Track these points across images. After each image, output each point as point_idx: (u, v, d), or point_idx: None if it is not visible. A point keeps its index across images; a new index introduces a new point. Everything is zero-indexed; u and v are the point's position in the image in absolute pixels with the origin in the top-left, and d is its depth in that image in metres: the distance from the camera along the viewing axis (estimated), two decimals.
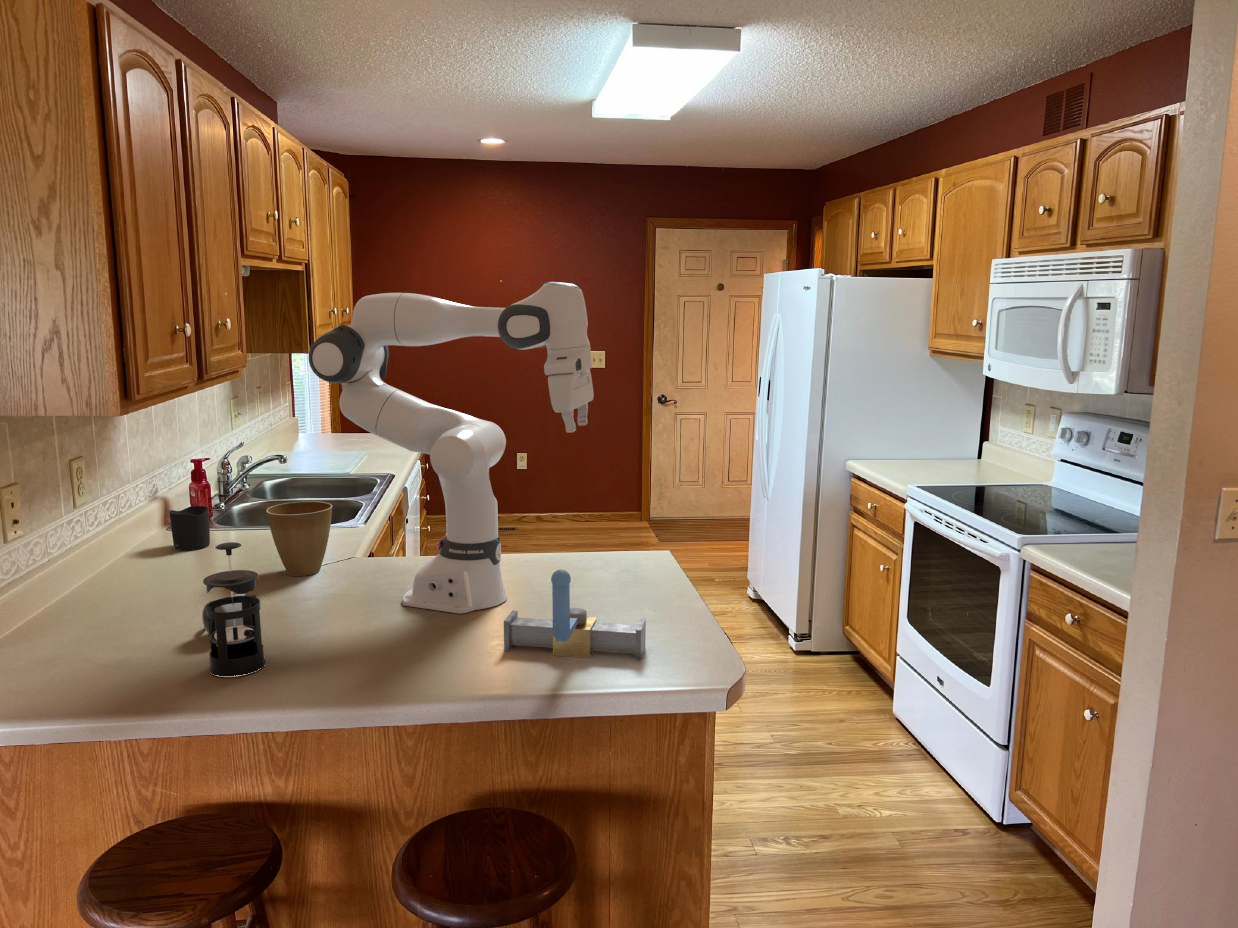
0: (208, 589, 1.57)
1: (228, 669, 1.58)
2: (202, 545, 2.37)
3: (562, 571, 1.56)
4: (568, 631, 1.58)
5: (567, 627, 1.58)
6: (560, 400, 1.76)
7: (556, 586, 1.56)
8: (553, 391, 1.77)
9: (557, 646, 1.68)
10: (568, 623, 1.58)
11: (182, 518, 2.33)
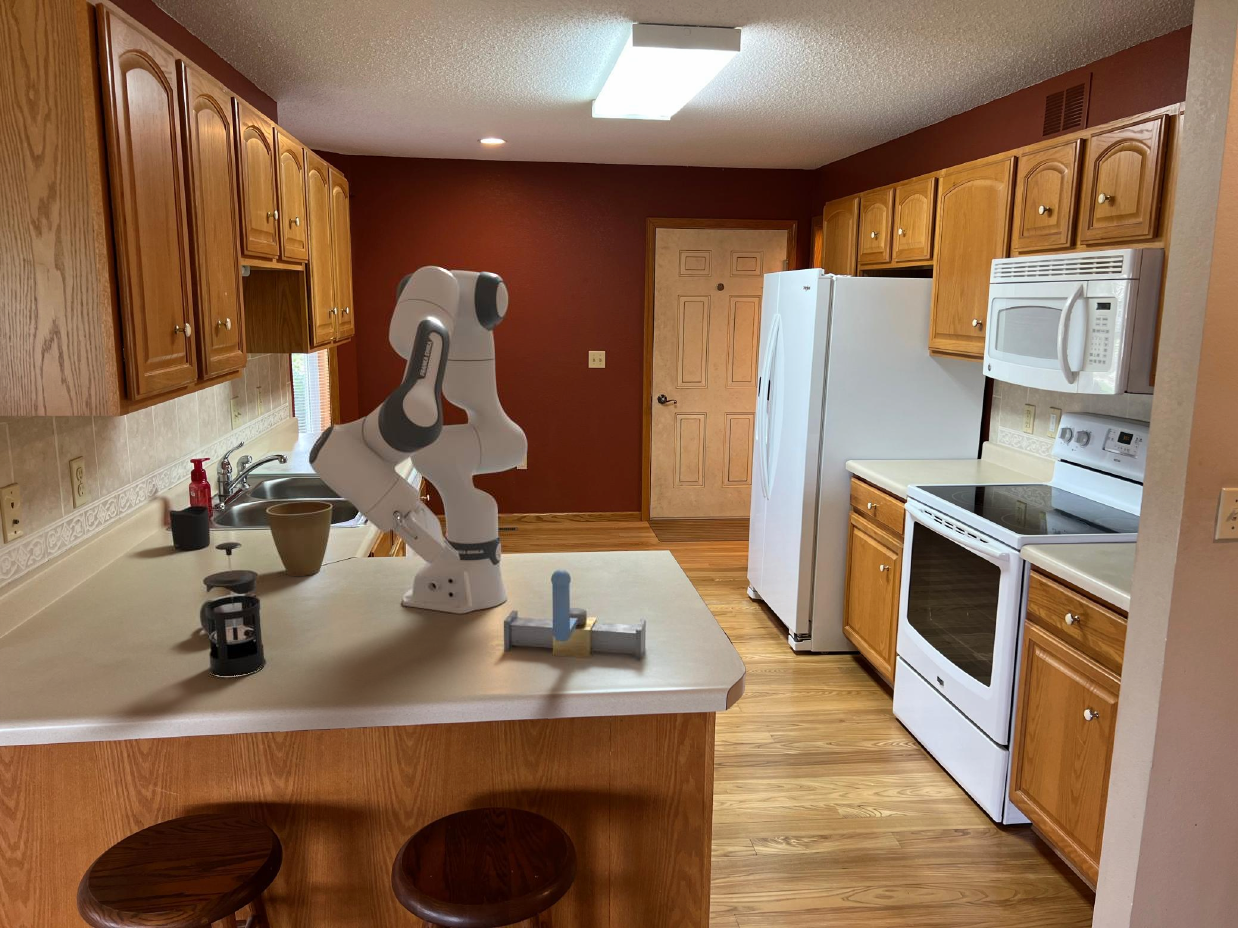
0: (208, 589, 1.57)
1: (228, 669, 1.58)
2: (202, 545, 2.37)
3: (562, 571, 1.56)
4: (568, 631, 1.58)
5: (567, 627, 1.58)
6: None
7: (556, 586, 1.56)
8: None
9: (557, 646, 1.68)
10: (568, 623, 1.58)
11: (182, 518, 2.33)
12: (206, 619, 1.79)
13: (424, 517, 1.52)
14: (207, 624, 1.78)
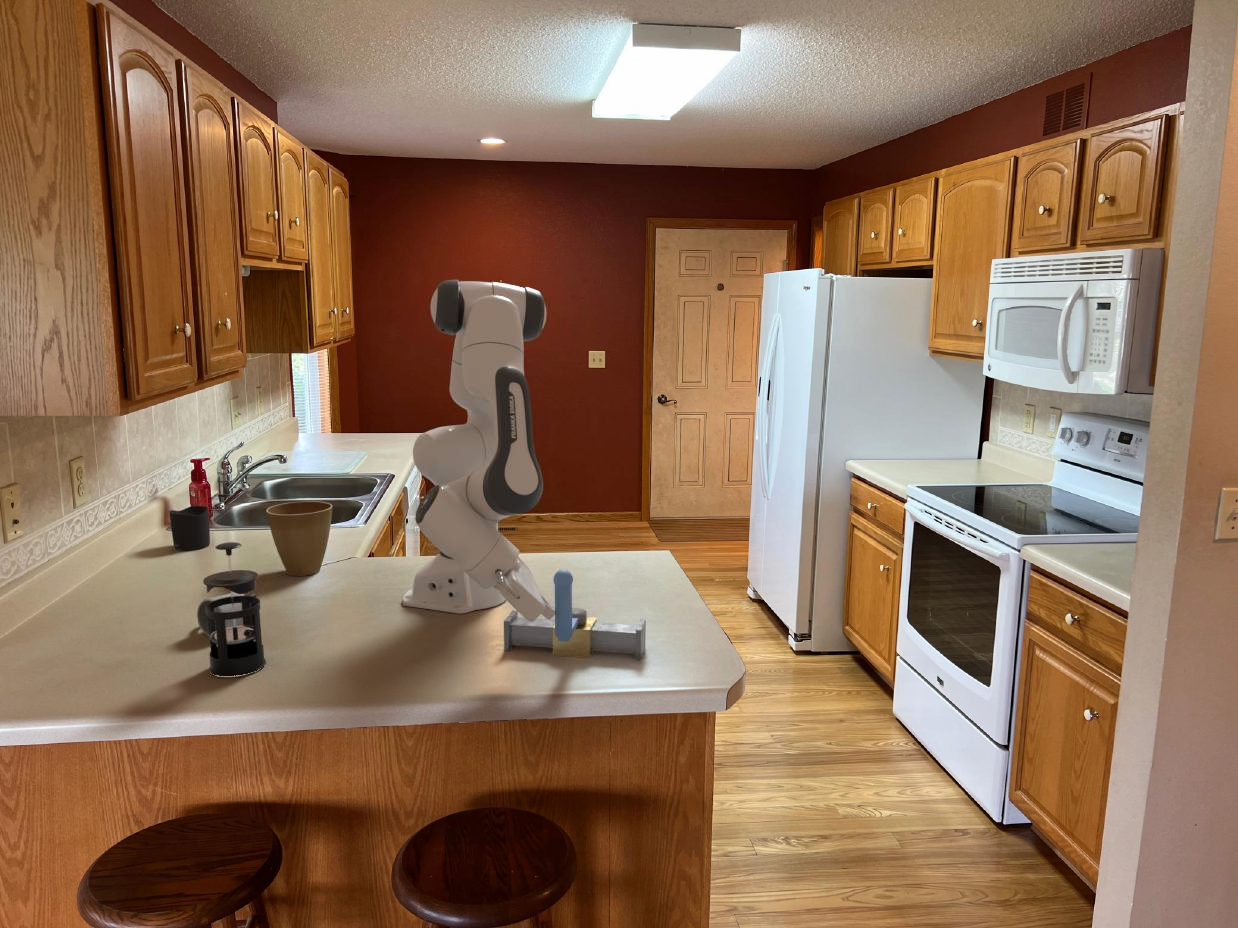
0: (208, 589, 1.57)
1: (228, 669, 1.58)
2: (202, 545, 2.37)
3: (564, 571, 1.56)
4: (570, 631, 1.58)
5: (569, 627, 1.58)
6: None
7: (559, 586, 1.56)
8: None
9: (557, 646, 1.68)
10: (570, 623, 1.58)
11: (182, 518, 2.33)
12: (203, 618, 1.79)
13: (521, 572, 1.57)
14: (204, 623, 1.79)
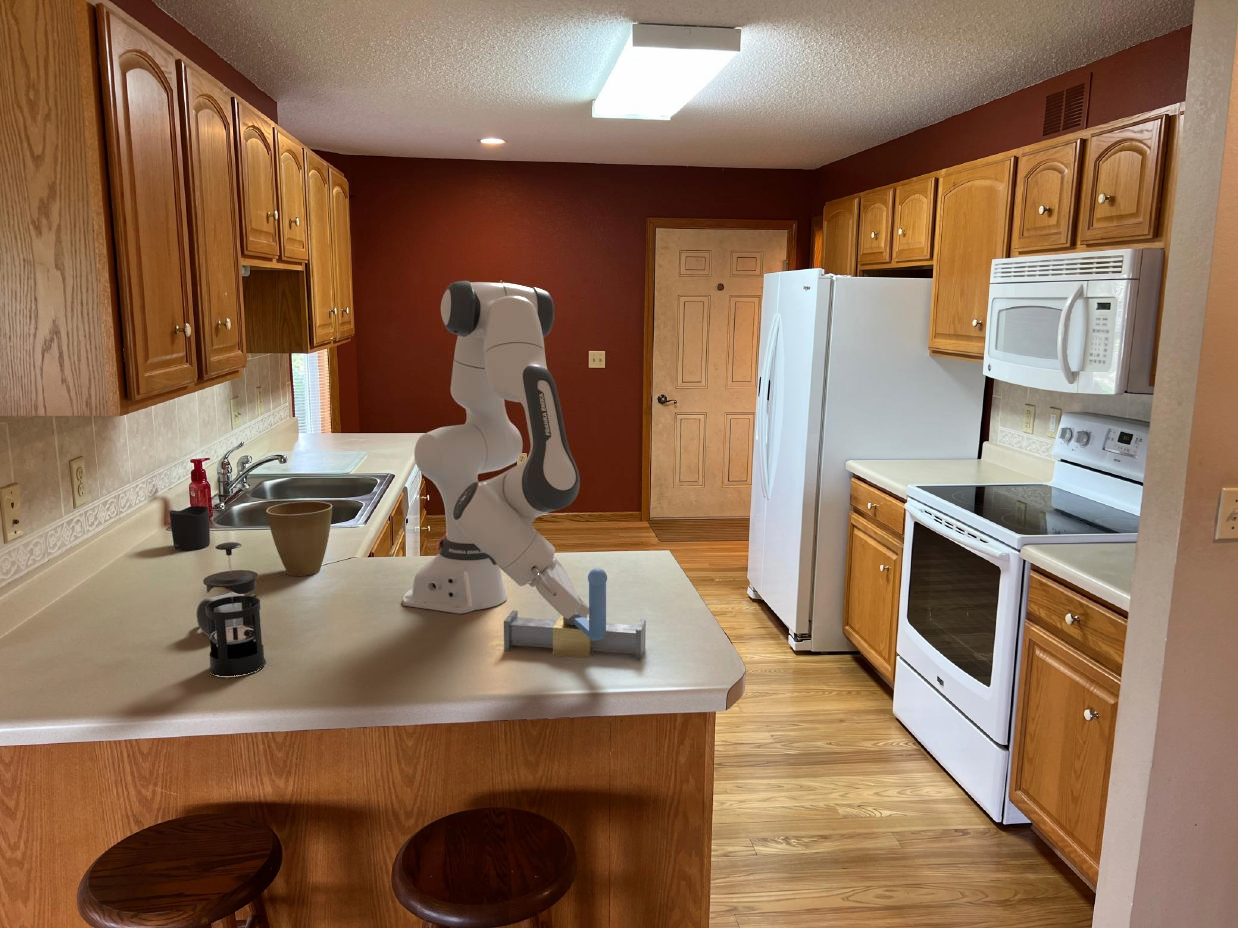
0: (208, 589, 1.57)
1: (228, 669, 1.58)
2: (202, 545, 2.37)
3: (600, 569, 1.57)
4: (605, 628, 1.60)
5: (605, 624, 1.59)
6: None
7: (598, 585, 1.57)
8: None
9: (557, 646, 1.68)
10: (605, 620, 1.59)
11: (182, 518, 2.33)
12: (203, 618, 1.79)
13: (556, 570, 1.58)
14: (204, 623, 1.79)
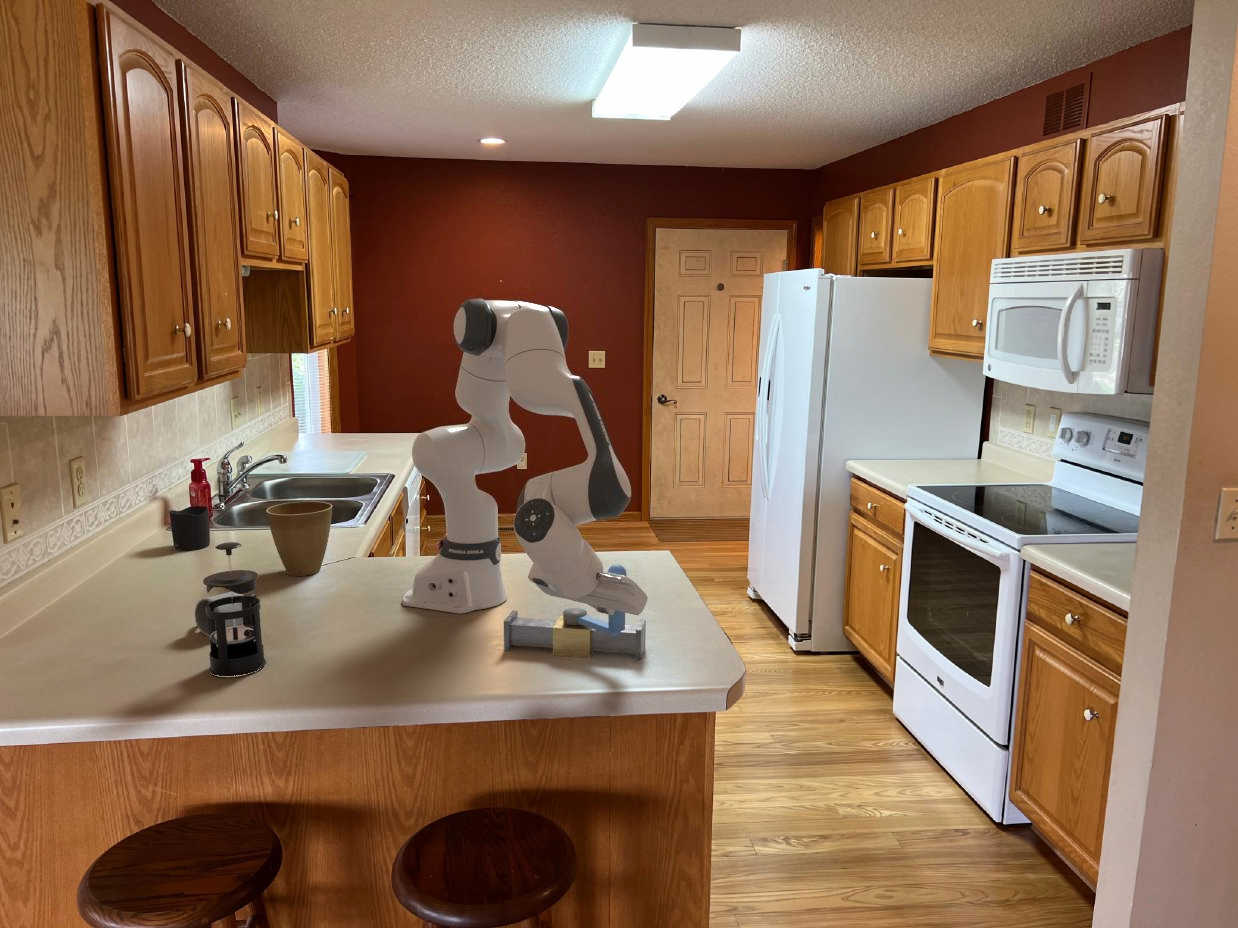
0: (208, 589, 1.57)
1: (228, 669, 1.58)
2: (202, 545, 2.37)
3: (620, 565, 1.60)
4: None
5: None
6: None
7: None
8: None
9: (557, 646, 1.68)
10: None
11: (182, 518, 2.33)
12: (201, 618, 1.79)
13: None
14: (202, 622, 1.79)
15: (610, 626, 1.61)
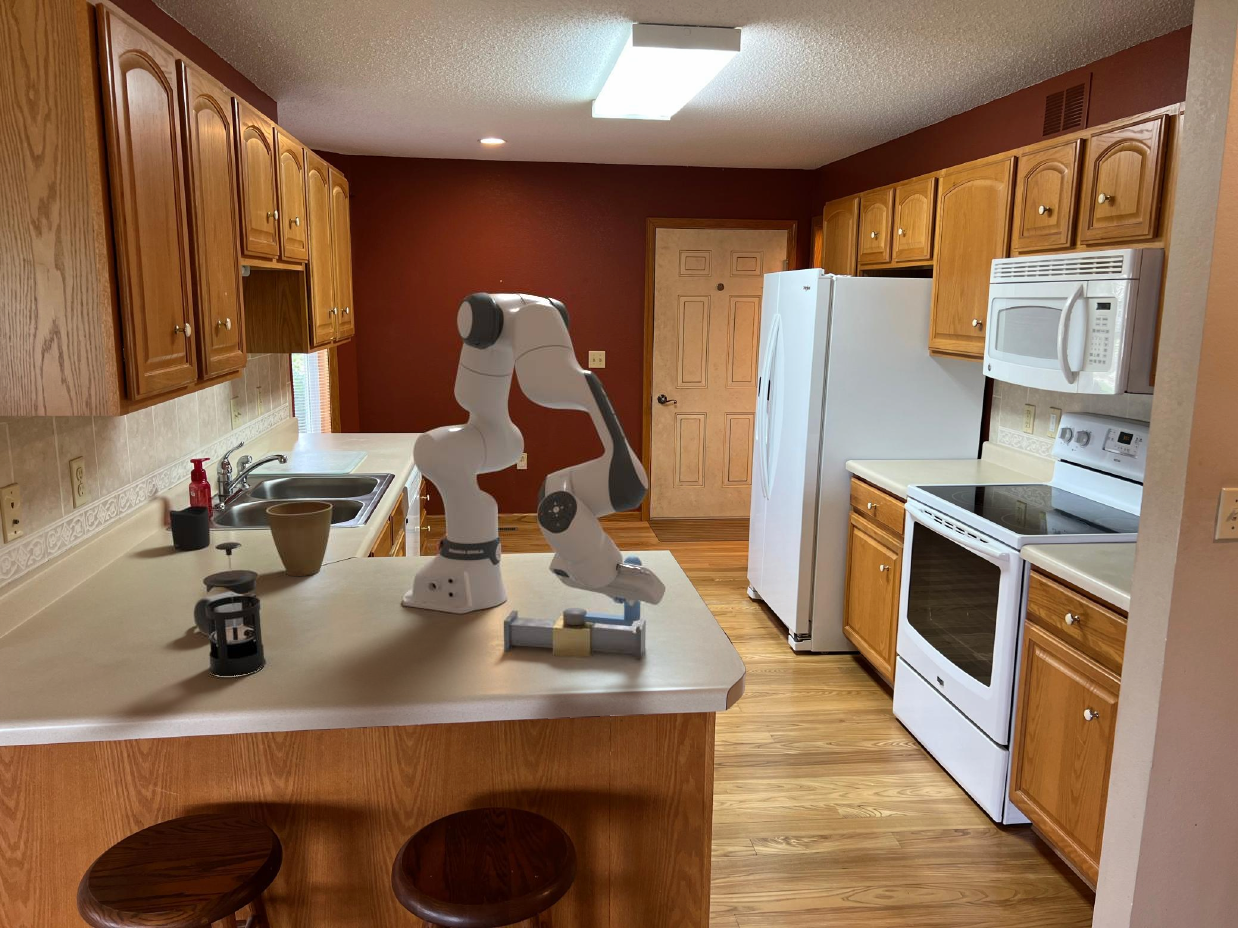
0: (208, 589, 1.57)
1: (228, 669, 1.58)
2: (202, 545, 2.37)
3: None
4: None
5: None
6: None
7: None
8: None
9: (557, 646, 1.68)
10: None
11: (182, 518, 2.33)
12: (200, 617, 1.80)
13: None
14: (201, 622, 1.79)
15: (629, 617, 1.66)
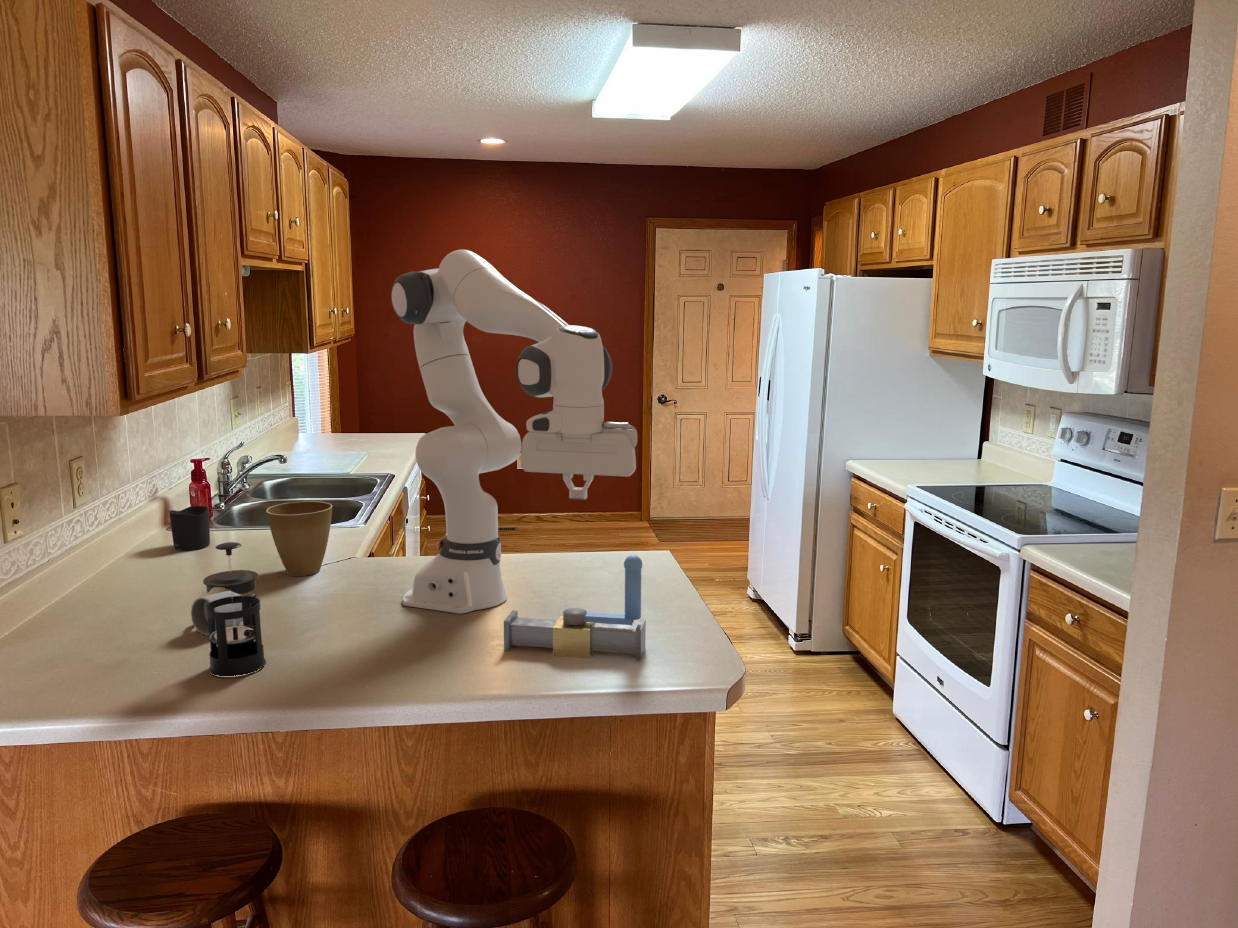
0: (208, 589, 1.57)
1: (228, 669, 1.58)
2: (202, 545, 2.37)
3: (635, 555, 1.66)
4: None
5: None
6: None
7: (640, 570, 1.65)
8: None
9: (557, 646, 1.68)
10: None
11: (182, 518, 2.33)
12: (197, 617, 1.80)
13: None
14: (198, 621, 1.80)
15: (630, 616, 1.66)
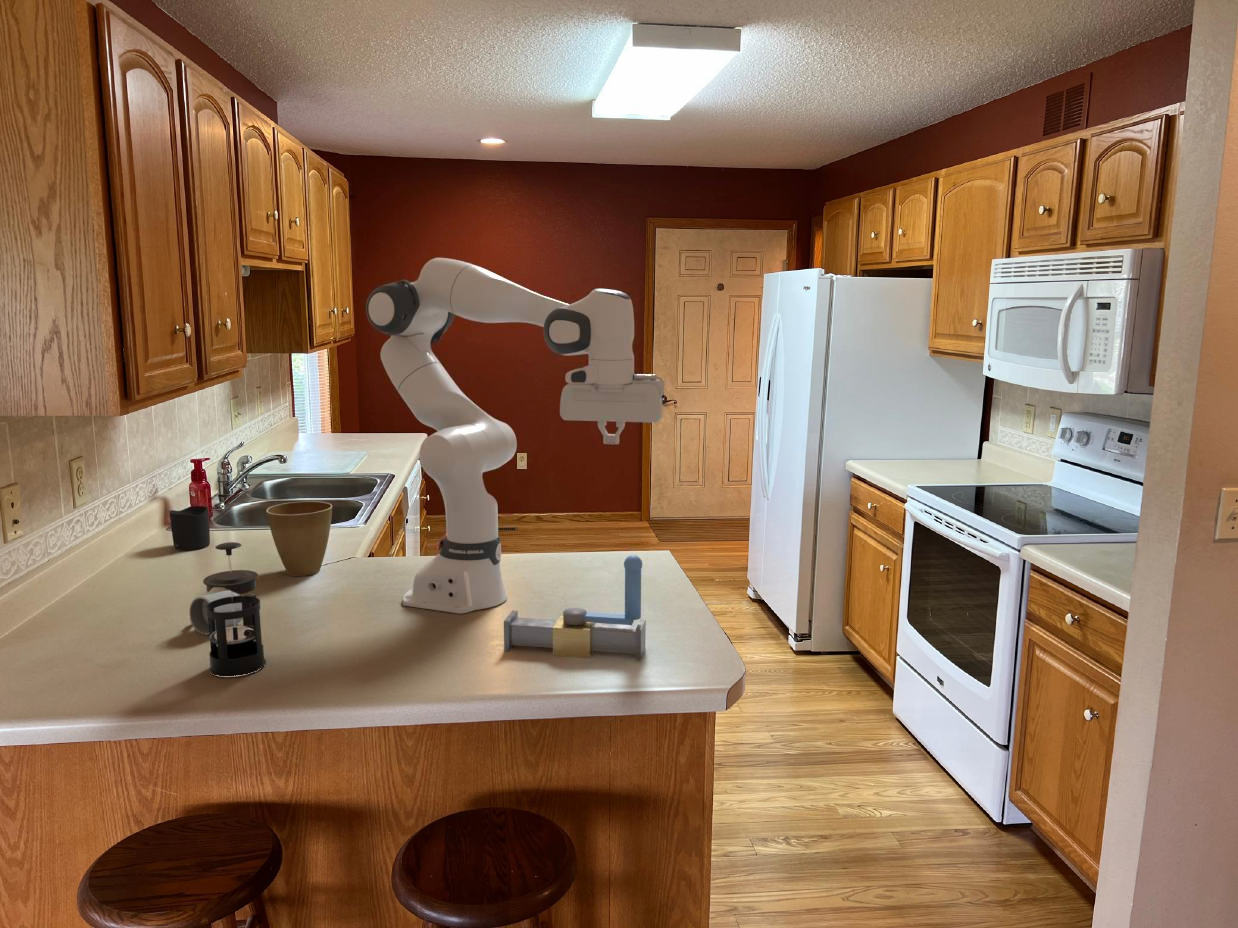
0: (208, 589, 1.57)
1: (228, 669, 1.58)
2: (202, 545, 2.37)
3: (635, 555, 1.66)
4: None
5: None
6: None
7: (640, 570, 1.65)
8: None
9: (557, 646, 1.68)
10: None
11: (182, 518, 2.33)
12: (196, 616, 1.80)
13: None
14: (197, 621, 1.80)
15: (630, 616, 1.66)
